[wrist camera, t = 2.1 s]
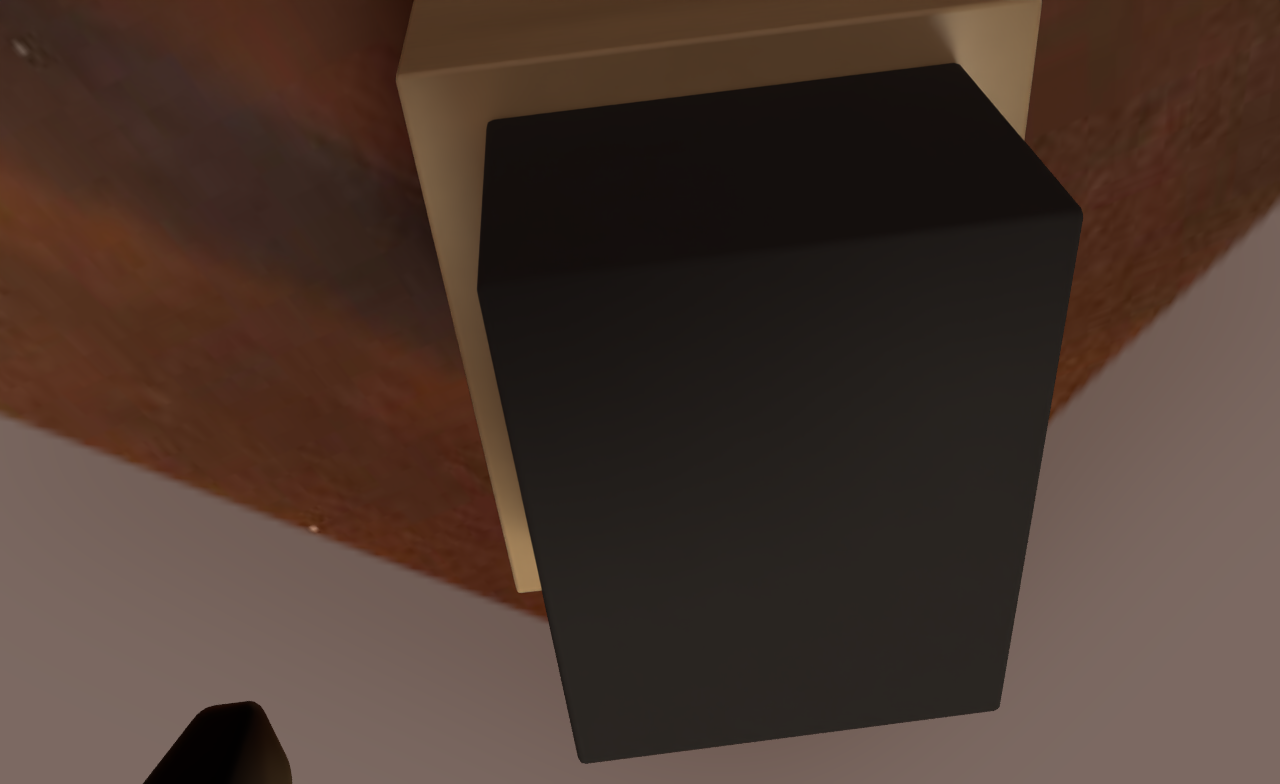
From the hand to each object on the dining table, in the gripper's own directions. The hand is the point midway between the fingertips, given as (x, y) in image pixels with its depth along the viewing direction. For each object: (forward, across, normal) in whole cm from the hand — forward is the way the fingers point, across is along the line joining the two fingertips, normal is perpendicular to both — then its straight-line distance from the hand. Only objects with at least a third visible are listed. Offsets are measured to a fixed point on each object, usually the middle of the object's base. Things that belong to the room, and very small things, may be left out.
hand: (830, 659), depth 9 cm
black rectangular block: (+4, 0, 0) cm, 4 cm away
